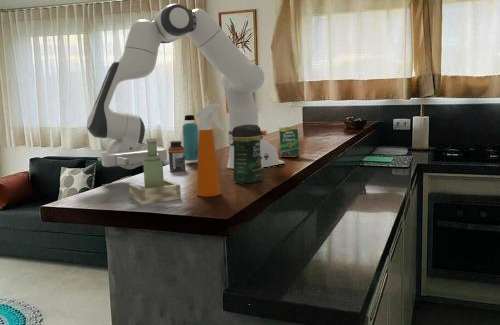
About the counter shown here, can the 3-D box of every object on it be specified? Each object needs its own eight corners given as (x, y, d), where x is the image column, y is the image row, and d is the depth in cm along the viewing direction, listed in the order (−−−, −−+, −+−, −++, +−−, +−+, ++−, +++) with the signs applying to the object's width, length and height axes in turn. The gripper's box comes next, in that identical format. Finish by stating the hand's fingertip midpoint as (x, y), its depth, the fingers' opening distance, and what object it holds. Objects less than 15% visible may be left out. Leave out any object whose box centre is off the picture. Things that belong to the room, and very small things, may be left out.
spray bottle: (218, 199, 136) (213, 103, 132) (191, 195, 143) (186, 104, 139) (235, 194, 142) (231, 102, 138) (209, 190, 149) (204, 102, 145)
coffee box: (280, 158, 209) (279, 127, 207) (280, 157, 212) (279, 126, 210) (299, 157, 208) (298, 126, 206) (298, 156, 211) (298, 126, 209)
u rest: (167, 192, 149) (166, 179, 148) (180, 198, 139) (180, 184, 139) (130, 197, 143) (128, 184, 143) (141, 204, 134) (140, 190, 133)
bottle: (160, 191, 145) (157, 137, 142) (167, 195, 140) (164, 138, 138) (142, 194, 142) (139, 139, 140) (149, 197, 137) (145, 140, 135)
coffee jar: (251, 185, 155) (248, 126, 152) (230, 183, 159) (227, 125, 156) (266, 179, 163) (264, 123, 160) (246, 178, 167) (243, 123, 164)
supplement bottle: (169, 170, 190) (167, 140, 188) (184, 168, 191) (183, 139, 189) (170, 172, 184) (168, 142, 183) (186, 171, 185) (184, 141, 184)
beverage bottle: (197, 164, 202) (194, 115, 199) (182, 164, 203) (179, 115, 200) (202, 161, 208) (199, 114, 205) (187, 161, 209) (184, 114, 206)
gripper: (95, 148, 155) (106, 152, 143) (157, 142, 165) (172, 146, 153) (96, 168, 156) (108, 174, 144) (158, 161, 166) (173, 166, 154)
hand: (141, 159), depth 149 cm, fingers open, 8 cm apart
